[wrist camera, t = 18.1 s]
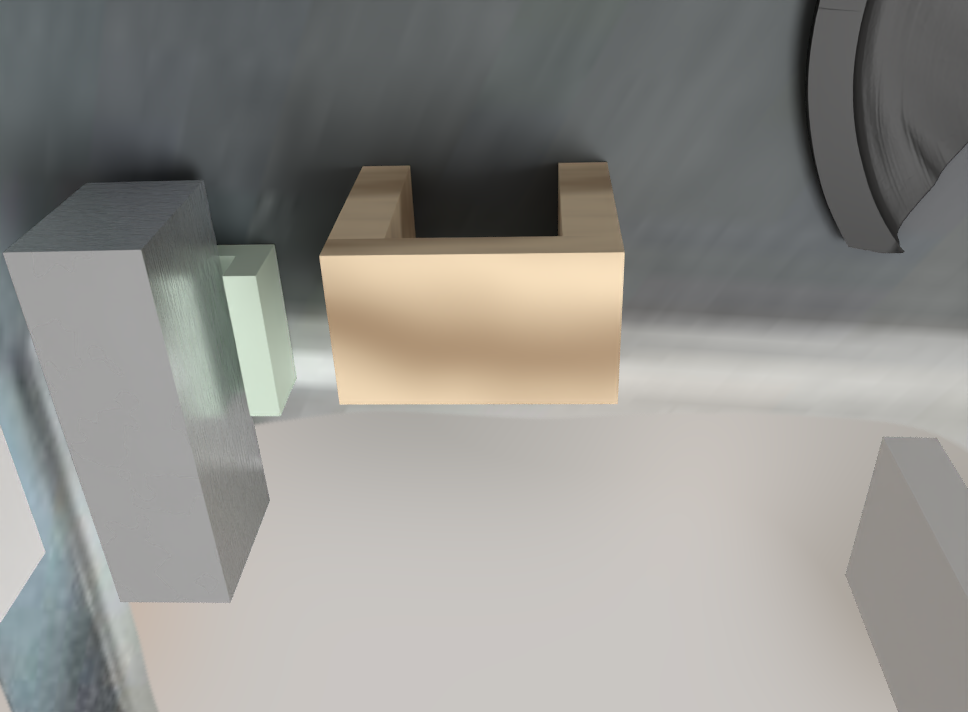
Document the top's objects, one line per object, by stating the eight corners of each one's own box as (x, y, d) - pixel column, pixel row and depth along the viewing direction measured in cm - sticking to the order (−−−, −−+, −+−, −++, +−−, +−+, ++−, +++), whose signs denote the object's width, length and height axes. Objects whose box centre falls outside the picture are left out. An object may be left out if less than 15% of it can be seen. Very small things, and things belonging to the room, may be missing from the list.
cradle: (72, 246, 41) (39, 278, 39) (274, 244, 41) (255, 275, 38) (110, 378, 45) (82, 416, 42) (296, 378, 44) (280, 416, 42)
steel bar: (86, 182, 38) (2, 252, 32) (203, 179, 38) (141, 250, 32) (173, 500, 47) (120, 602, 41) (269, 500, 47) (230, 602, 41)
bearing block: (362, 166, 39) (319, 255, 31) (607, 162, 38) (624, 252, 30) (376, 294, 42) (339, 404, 34) (602, 291, 41) (617, 403, 34)
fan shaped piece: (737, 221, 40) (744, 236, 38) (846, -130, 33) (859, -127, 31) (925, 251, 40) (939, 267, 39) (1073, -92, 33) (1096, -87, 32)
